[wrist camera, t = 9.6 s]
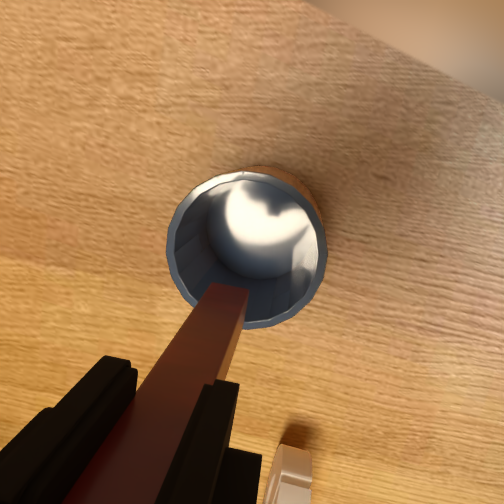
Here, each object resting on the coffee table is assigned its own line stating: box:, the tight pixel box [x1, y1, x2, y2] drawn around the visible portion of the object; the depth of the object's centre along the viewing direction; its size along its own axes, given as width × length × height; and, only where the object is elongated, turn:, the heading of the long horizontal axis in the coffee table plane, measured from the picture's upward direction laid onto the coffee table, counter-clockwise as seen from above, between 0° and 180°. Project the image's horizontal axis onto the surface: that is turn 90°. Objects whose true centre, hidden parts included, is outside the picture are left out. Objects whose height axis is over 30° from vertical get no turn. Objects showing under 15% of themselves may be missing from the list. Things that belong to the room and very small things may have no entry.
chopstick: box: [61, 282, 249, 504], centre depth 11 cm, size 2×2×14 cm
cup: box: [166, 165, 328, 330], centre depth 28 cm, size 9×9×9 cm
